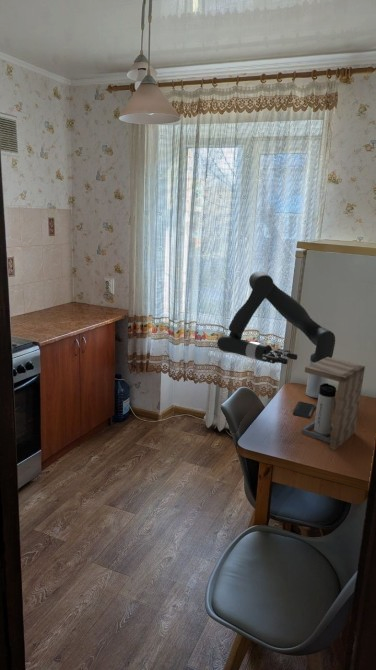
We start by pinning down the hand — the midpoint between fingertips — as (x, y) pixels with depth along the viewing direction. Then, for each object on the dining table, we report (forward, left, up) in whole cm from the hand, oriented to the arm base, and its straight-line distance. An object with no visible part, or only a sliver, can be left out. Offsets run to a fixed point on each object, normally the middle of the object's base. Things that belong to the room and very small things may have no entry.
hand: (292, 359), depth 192 cm
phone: (-11, +7, -26) cm, 29 cm away
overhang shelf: (+10, +18, -26) cm, 33 cm away
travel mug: (+9, +16, -26) cm, 32 cm away
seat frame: (+9, +16, -26) cm, 32 cm away
